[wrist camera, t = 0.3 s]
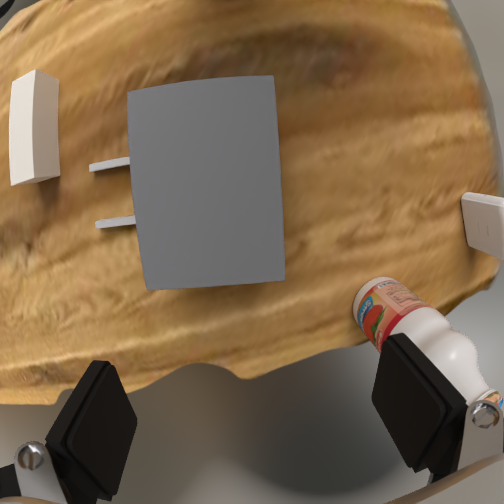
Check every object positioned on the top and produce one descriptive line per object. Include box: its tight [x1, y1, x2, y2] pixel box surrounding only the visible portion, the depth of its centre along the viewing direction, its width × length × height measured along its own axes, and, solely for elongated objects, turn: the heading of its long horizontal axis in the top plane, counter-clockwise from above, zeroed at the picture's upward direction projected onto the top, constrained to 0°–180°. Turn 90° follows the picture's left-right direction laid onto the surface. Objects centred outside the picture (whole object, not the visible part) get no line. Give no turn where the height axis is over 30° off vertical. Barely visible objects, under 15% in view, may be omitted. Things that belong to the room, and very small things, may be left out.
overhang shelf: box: [89, 75, 285, 290], centre depth 31 cm, size 20×24×12 cm
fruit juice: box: [353, 277, 503, 407], centre depth 29 cm, size 9×9×28 cm
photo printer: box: [461, 192, 504, 260], centre depth 34 cm, size 10×4×12 cm, turn 23°
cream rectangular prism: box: [9, 69, 61, 186], centre depth 29 cm, size 5×16×7 cm, turn 5°
